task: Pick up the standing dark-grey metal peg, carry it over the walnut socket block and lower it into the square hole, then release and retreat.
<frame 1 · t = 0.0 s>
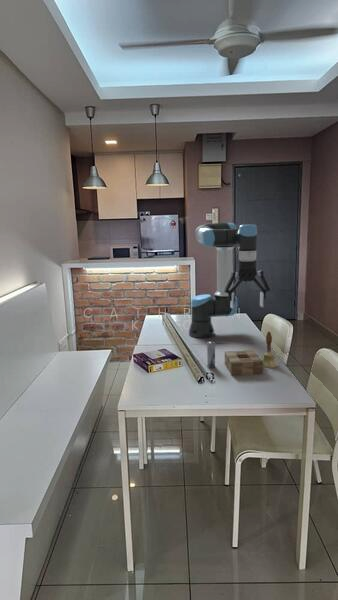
hand: (246, 307, 166), 28 cm above the table, fingers open, 13 cm apart
hand bell: (268, 364, 172), on the table
peg: (211, 366, 171), on the table
socket: (243, 368, 168), on the table
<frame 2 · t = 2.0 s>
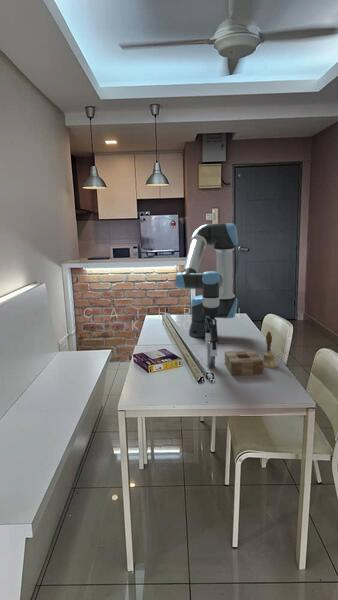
hand: (211, 350, 169), 8 cm above the table, fingers open, 13 cm apart
nothing on the table moved.
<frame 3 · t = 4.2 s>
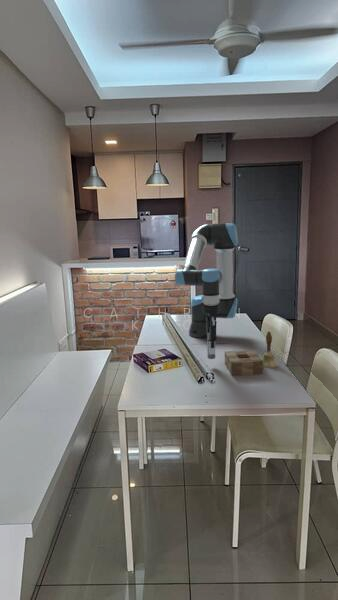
hand: (211, 352, 170), 7 cm above the table, fingers closed on peg, 3 cm apart
peg: (211, 357, 171), point 4 cm above the table, touching gripper
everything else where it was.
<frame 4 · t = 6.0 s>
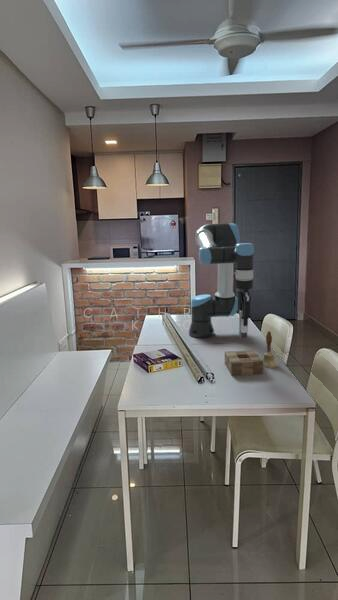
hand: (243, 330, 164), 18 cm above the table, fingers closed on peg, 3 cm apart
peg: (243, 336, 164), point 16 cm above the table, touching gripper
everything else where it was.
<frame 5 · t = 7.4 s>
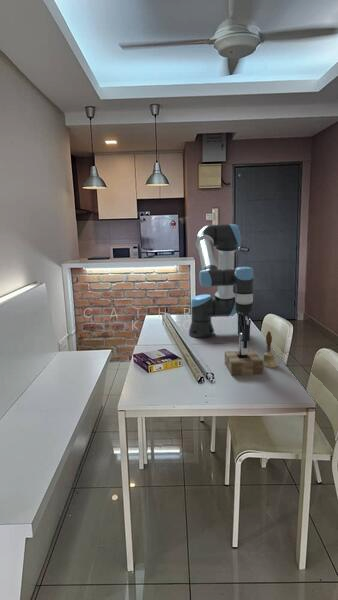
hand: (243, 352, 166), 8 cm above the table, fingers closed on peg, 3 cm apart
peg: (243, 358, 167), point 5 cm above the table, touching gripper
everything else where it was.
when the fingers open (7 cm above the table, at t = 8.4 s): peg drops 4 cm, resting in socket.
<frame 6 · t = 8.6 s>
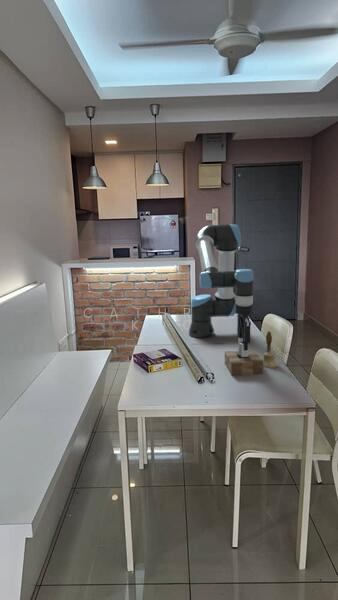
hand: (243, 353, 166), 7 cm above the table, fingers open, 5 cm apart
peg: (242, 368, 168), resting in socket, touching gripper
everything else where it was.
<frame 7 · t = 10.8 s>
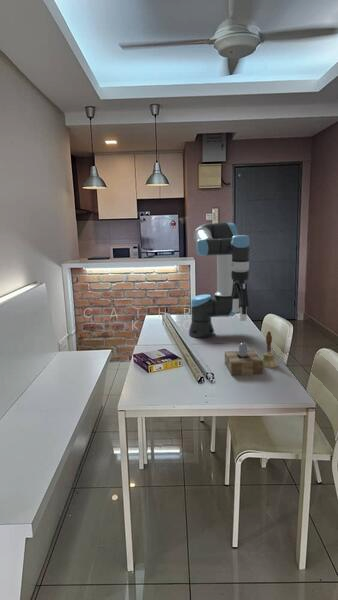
hand: (239, 316, 168), 23 cm above the table, fingers open, 13 cm apart
peg: (242, 368, 168), resting in socket
everything else where it was.
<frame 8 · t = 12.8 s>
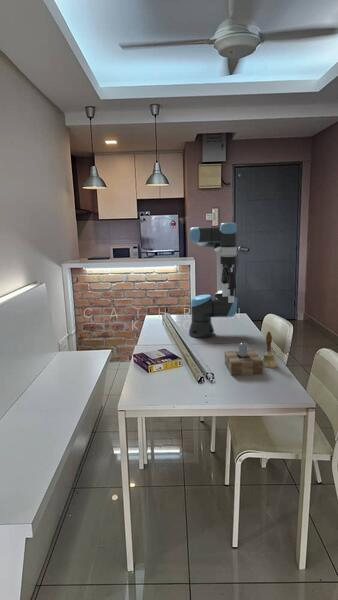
hand: (228, 299, 179), 29 cm above the table, fingers open, 13 cm apart
nothing on the table moved.
at the end: peg 0.2 cm off-centre on the socket, point 0.0 cm above the socket's base; peg tilted 0°; the gripper is holding nothing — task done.
